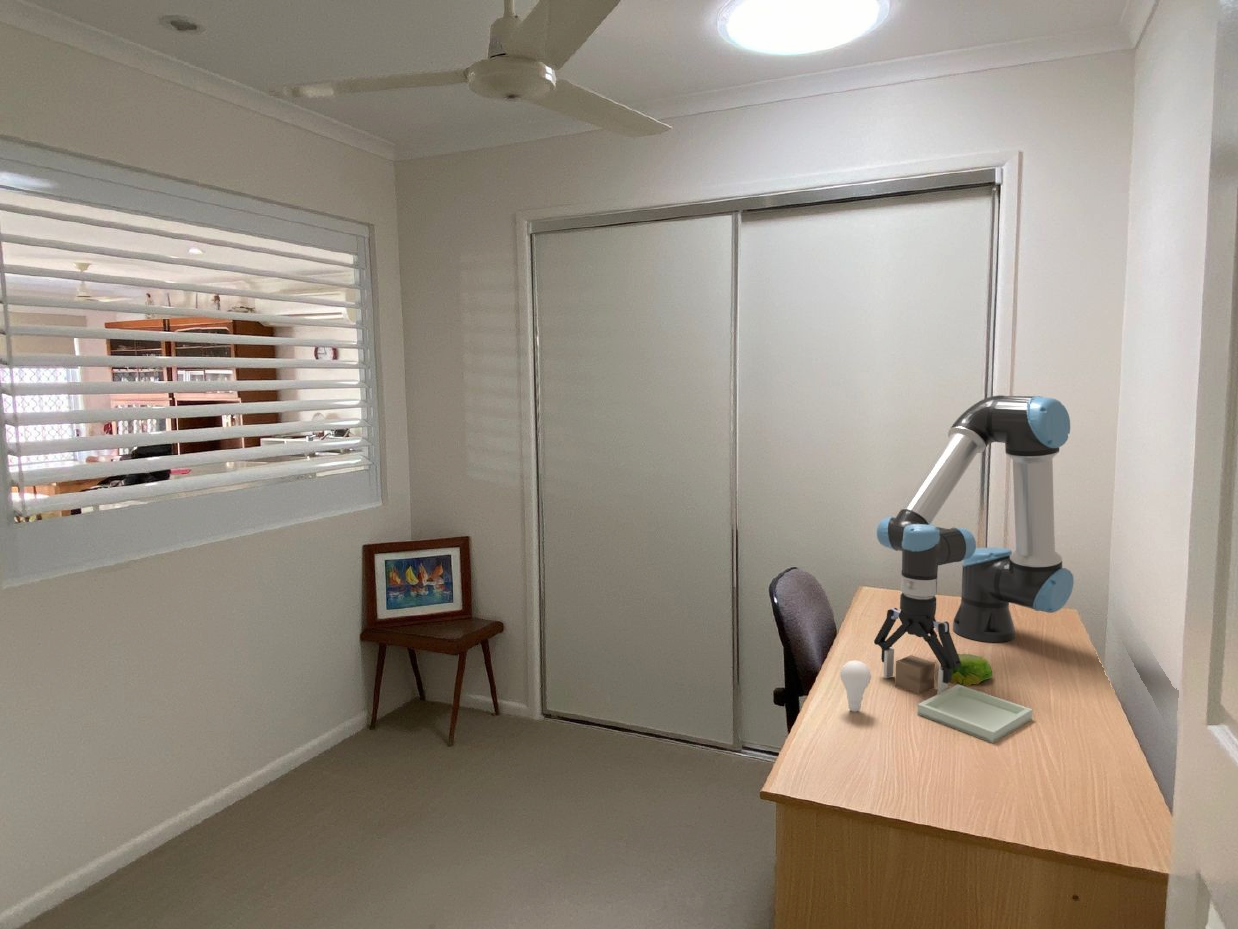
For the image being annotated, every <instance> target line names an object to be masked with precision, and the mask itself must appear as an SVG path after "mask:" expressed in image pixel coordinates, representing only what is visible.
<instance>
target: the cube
mask: <svg viewBox="0 0 1238 929" xmlns="http://www.w3.org/2000/svg"><path fill="white" fill-rule="evenodd" d="M935 677H936V662H934V661H930V660H928V659H925V658H922V657H918V656H915V655H912V654H910V655H908V656H907V655H906V656H905V657H903V658H900V659H899V660H896V661H895V677H894V679H895V680H894V682H895V683H894V687H895V688H899V689H901V690H904V691H906V692H910V693H913V694H916V695H919V696H920V695H922V694H924V693H926V692H928V691H930V690H933V689H934V688H935Z"/></svg>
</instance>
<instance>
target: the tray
mask: <svg viewBox="0 0 1238 929" xmlns="http://www.w3.org/2000/svg"><path fill="white" fill-rule="evenodd" d="M1033 711H1034V710H1033V708H1031V707H1027V706H1023V705H1021V704H1018V703H1015V702H1012V701H1009V700H1006V699H1003V698H1000V697H996V696H994V695H990V694H988V693H985V692H983V691H980V690H977V689H973V688H971V687H968V686H966V685H963V684H960V683H959V684H956V685H953V686H952V687H950V688H948V690H946V691H944V692H942V693H939V694H938V693H937V694H935V695H934V696H931V697H930V698H927V699H925V700H923V701H922V702H919V703H917V712H916V714H917V715H918V716H921V717H923V718H926V719H929V720H931V721H933V722H937V723H939V724H942V725H945V726H947V727H949V728H952V729H954V730H958V731H960V732H963V733H965V734H967V735H969V736H970V735H971V736H973V737H974V738H975V737H976V738H978V739H981V740H982V741H983V740H984V741H986V742H989V743H990V744H995V743H996V742H998V741H999V740H1001V739H1003V738H1004V737H1006V736H1007V735H1009V734H1010V733H1013V731H1015V730H1017V729H1019V728H1020V727H1022V726H1024V725H1025V724H1027V723H1028V722H1031V721H1032V720H1033Z"/></svg>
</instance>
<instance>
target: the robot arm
mask: <svg viewBox="0 0 1238 929" xmlns="http://www.w3.org/2000/svg"><path fill="white" fill-rule="evenodd" d="M1070 432H1071V420H1070V416H1069V412H1068V410H1067V408H1066V406H1065V405H1064V404H1062V402H1061V401H1060V400H1058V399H1056V398H1053V397H1043V396H1035V395H1033V396H1030V395H1027V396H1026V395H1025V396H1023V395H1001V394H999V395H992V396H989V397H986V398H984V399H981V400H979V401H978V402H976V403H974V404H973V405H972V406H970V407H968V409H966V410H965V411H963V413H962V414H961V415H960V416H958V418H956V420H955V421H954V422H953V424H952V425H951V427H950V428H949V429H948V432H947V436H948V439H947V440H946V442H945V443H944V445H943V447H942V448H941V449H940V451H939V452H938V453H937V456H935V458H934V460H933V461H932V463H931V464H930V466H929V467H928V469H927V470H926V472H925V473H924V475H923V476H922V478H921V479H920V481H919V482H918V483H917V485H916V487H915V488H914V490H913V491H912V492H911V493H910V495H909V497H908V499H907V500H906V502H905V504H904V505H903V506H902V508H901V509H900V510H899V512H898V514H897V515H896V516H895V517H893V516H891V517H890V516H889V517H888V516H887V517H885V518H883V519H881V520H880V521H879V523H878V525H877V528H876V538H877V541H878V542H879V544H880V546H881V545H882V546H883V547H884V548H887V549H891V550H893V551H896V552H898V551H899V552H901V571H900V572H901V576H900V577H901V578H900V592H901V594H900V598H899V601H900V602H899V609H900V610H899V609H898V608H897V607H893V608H890V609H888V610H887V611H886V618H885V620H884V622H883V624H882V625H881V627H880V630H879V631H878V633H877V635H876V636H875V639H874V640H873V643H874V645H875V646H876V645H877V646H879V647H880V648H881V649H880V650H881V655H880V656H881V658H880V659H881V662H882V663H883V679H890V678H891V677H893V676H894V666H895V664H894V663H895V660H894V659H895V648H893V646H894V644H896V643H897V641H899V640H900V638H902V637H903V636H904V635H905V634H906V633H907V634H909V635H910V636H912V635H913V636H916V637H917V638H918V637H919V638H922V639H923V641H924V642H926V643H927V644H928V646H929V648H930V649H931V651H932V653H933V654H934V656H935V657H936V659H937V661H938V663H939V664H941V666H942V667H941V668H940V667H939V668H938V672H937V673H938V674H937V675H938V677H937V679H938V680H937V694H939V693H942V692H944V691H946V690H948V689H949V688H948V685H949V683H951V682H952V681H951V680H952V669H956V668H958V667H960V666H961V661H960V659H959V656H958V654H959V653H958V651H957V648H956V645H955V643H954V640H953V638H952V636H951V635H952V634H951V632H950V623H949V622H948V621H944V622H941V621H937V620H936V613H937V597H936V596H937V593H938V571H939V566H942V565H947V564H953V563H961V562H962V565H961V567H962V572H961V576H962V578H961V596H960V597H961V599H960V603H959V606H958V609H957V610H956V613H955V616H954V619H953V621H952V630H953V632H954V633H955V634H957V635H959V636H961V637H963V638H967V639H970V640H974V641H980V642H986V643H1003V642H1004V643H1005V642H1009V641H1012V640H1013V639H1014V638H1015V635H1016V634H1015V633H1016V629H1015V624H1014V620H1013V617H1012V614H1011V611H1010V604H1012V605H1013V604H1014V605H1018V606H1021V607H1024V608H1027V609H1031V610H1034V611H1036V612H1045V613H1048V614H1049V613H1050V614H1052V613H1056V612H1058V611H1060V610H1061V609H1063V608H1064V606H1065V605H1066V604H1067V603H1068V601H1069V599H1070V597H1071V595H1072V592H1073V590H1074V583H1075V580H1074V574H1073V573H1072V571H1071V570H1070V569H1068V568H1066V567H1063V557H1062V555H1060V554H1059V553H1058V552H1057V551H1056V548H1055V547H1056V546H1055V544H1056V542H1055V541H1056V540H1055V506H1054V474H1053V473H1054V471H1053V469H1054V468H1053V465H1054V464H1053V459H1054V458H1055V457H1056V456H1057V454H1059V453H1060V448H1061V447H1062V446H1064V445H1065V444H1066V443H1067V441H1068V439H1069V434H1070ZM993 443H1001V444H1004V447H1005V448H1004V450H1005V451H1004V452H1005V455H1006V456H1008V457H1009V458H1010V459H1011V460H1012V476H1013V478H1012V479H1013V480H1012V481H1013V503H1014V505H1013V506H1014V508H1013V509H1014V527H1015V528H1014V529H1015V530H1014V532H1015V533H1014V534H1015V551H1013V552H1012V550H1011V549H1009V548H1005V547H977V543H976V538H975V536H974V535H973V533H972V532H971V531H970V530H969V529H967V528H964V527H951V528H944V527H940V526H935V525H931V524H932V522H933V521H934V520H935V517H936V516H937V515H938V513H939V512H940V510H942V509H941V508H942V507H943V506H944V505H945V503H946V501H947V500H948V498H949V497H950V495H952V494H951V493H952V492H953V491H954V489H955V487H956V486H957V484H958V483H959V482H960V479H962V477H963V475H964V474H965V472H966V470H967V469H968V468H969V466H970V465H971V463H972V462H973V460H974V458H975V457H976V455H978V454H980V453H983V452H984V451H985V450H986V448H987V447H988V446H989V445H990V444H993ZM898 619H899V620H900V623H901V625H899V627H898V628H896V630H895V631H894V632H893V633H892V634H891V635H890V636H889V634H890V633H891V630H892V628H893V627H894V625H895V623H896V621H897V620H898ZM935 629H936V631H935ZM937 633H938V634H937ZM888 636H889V637H888ZM938 637H939V638H938Z"/></svg>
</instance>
